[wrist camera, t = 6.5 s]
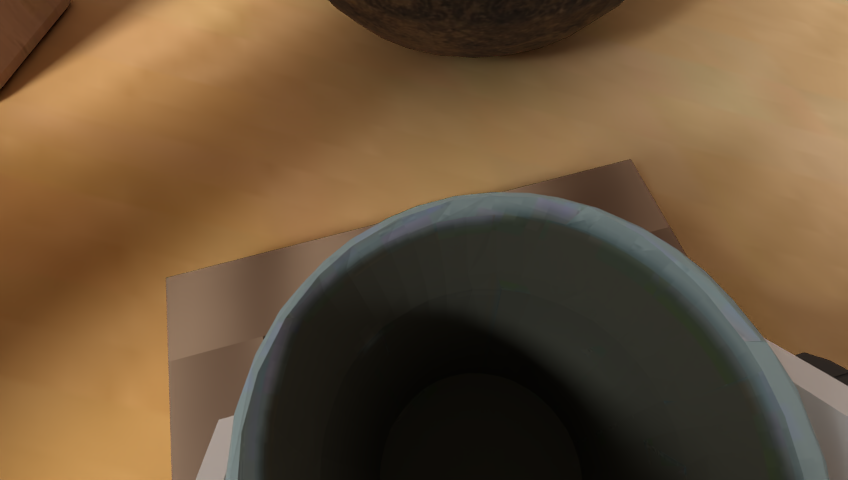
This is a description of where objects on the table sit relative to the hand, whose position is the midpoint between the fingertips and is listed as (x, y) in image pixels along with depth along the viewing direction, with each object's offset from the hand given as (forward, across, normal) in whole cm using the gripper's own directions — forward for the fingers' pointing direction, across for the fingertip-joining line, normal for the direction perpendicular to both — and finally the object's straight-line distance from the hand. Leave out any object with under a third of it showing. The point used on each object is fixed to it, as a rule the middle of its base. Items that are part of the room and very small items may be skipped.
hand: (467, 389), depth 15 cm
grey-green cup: (+2, 0, -5) cm, 6 cm away
